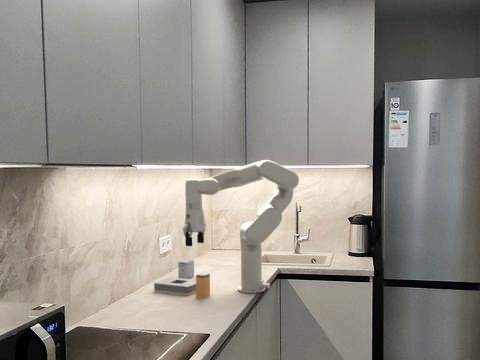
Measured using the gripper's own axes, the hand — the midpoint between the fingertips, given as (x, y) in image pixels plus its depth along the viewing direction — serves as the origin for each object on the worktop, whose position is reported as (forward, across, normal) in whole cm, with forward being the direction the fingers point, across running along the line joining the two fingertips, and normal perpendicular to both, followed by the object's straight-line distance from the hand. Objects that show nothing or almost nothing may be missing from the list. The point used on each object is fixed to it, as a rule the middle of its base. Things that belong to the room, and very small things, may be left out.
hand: (194, 244), depth 218 cm
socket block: (+22, +1, +10) cm, 24 cm away
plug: (+22, -4, -6) cm, 23 cm away
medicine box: (+22, +26, +22) cm, 41 cm away
